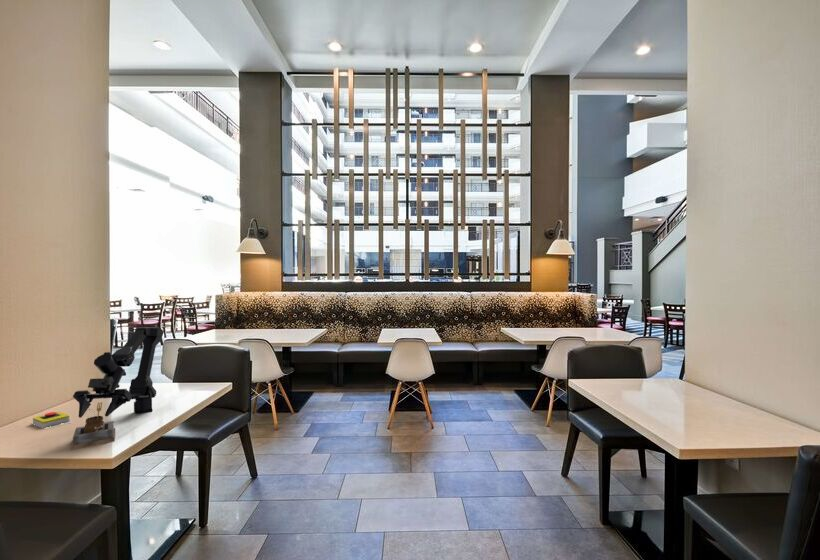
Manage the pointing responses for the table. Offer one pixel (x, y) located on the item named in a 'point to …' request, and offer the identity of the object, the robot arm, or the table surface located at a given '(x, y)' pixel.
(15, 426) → the table surface
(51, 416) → the emergency button
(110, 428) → the pocket plate
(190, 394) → the table surface
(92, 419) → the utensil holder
